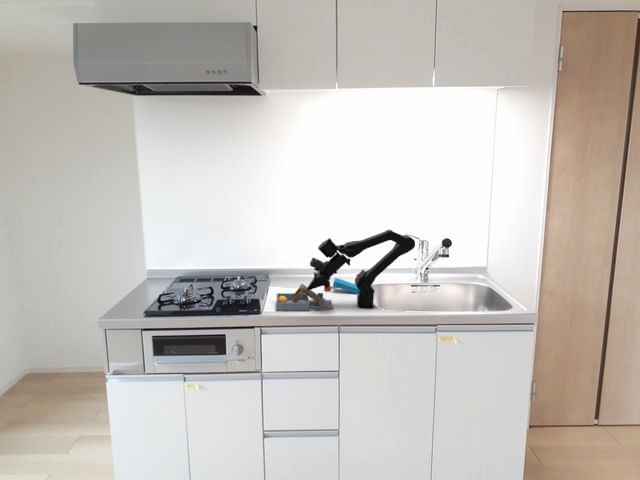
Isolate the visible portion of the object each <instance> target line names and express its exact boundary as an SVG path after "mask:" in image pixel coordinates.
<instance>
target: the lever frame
mask: <svg viewBox="0 0 640 480" xmlns="http://www.w3.org/2000/svg"><path fill="white" fill-rule="evenodd" d="M317 295H319V296H320V297H321V298H319V303H317V302H316V301H315V300H313V299H309V311H310V310H311V311H312V310H313V311H314V310H315V311H316V310H319V311H320V310H322V311H325V310H327V311H328V310H329V311H330V310H332V311H333V310H334V305H333V303H332V300H331V299H325V298H324V293H323V292H317Z"/></svg>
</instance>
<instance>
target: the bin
mask: <svg viewBox="0 0 640 480" xmlns="http://www.w3.org/2000/svg"><path fill="white" fill-rule="evenodd" d="M294 294H295V292H294V293H291V292H290V293H289V292H288V293H285V292H284V293H281V292H280V293H279V292H278V293H276V299H275V300H276V304H275V305H276V307H275V308H276V309H275V310H276V312H310V306H309V300H310V297H309V296H308V295H306V294H305V293H304V294H303V295H302V297H301V298H300V299H299V300H298V302H297V303H294V302H292V301H293V298H292V296H293V295H294ZM280 296H285V297H286V298H287V303H278V298H279V297H280Z"/></svg>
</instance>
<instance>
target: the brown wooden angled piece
mask: <svg viewBox="0 0 640 480" xmlns="http://www.w3.org/2000/svg"><path fill="white" fill-rule="evenodd" d="M307 287H308V286H306V285H305V284H304V283H300V285H299V287H298V288H297V290H296V291H295V292H294V293H295V294H294V295H293V296H292V298H293V301H292V302H294V303H297V302H298V300H299V299H300V298H301V297H302V295H303V294H304V293H305V294H306V295H308V298H309V299H311V300H315V301H316V302H317V303H319V298H321V297H320V296H319V295H318V293H316V292H315V291H313V289H311V290H308V289H307Z"/></svg>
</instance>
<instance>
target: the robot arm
mask: <svg viewBox="0 0 640 480" xmlns="http://www.w3.org/2000/svg"><path fill="white" fill-rule="evenodd" d="M388 241H392V242H394V245H393V248H391V249H390V250H389V251H388V252H387V253H386V254H385V255H384V256H383V257H381V258H380V260H378V262H376V263H375V264H374V265H373V266H372V267H370V268H369V269H368V270H364V269H362V270H361V271H359V273H358V274H356V277H355V278H354V284H356V286H357V288H358V289H359V290H360V291H359V295H358V294H356V295H357V296H356V305H357V306H358V308H360V309H374V308H375V306H374V295H375V290H374V288H373V286H372V285H373V284H374V282H375V280H376V278H377V277H378V276H379V275H380V274H382V272H384V271H385V270H386V269H387V268H389V267H390V266H391V264H392V263H394V262H395V261H396V260H398V258H399V257H400V256H403V255H405V254H407V253H410V251H413V250H414V248H415V247H416V241H415V239H413V238H412V237H411V236H410V235H407V234H406V235H404V234H403V235H402V234H400V233H398V232H395V231H393V230H392V229H386V230H385V231H383V232H380V233H377V234H374V235H371V236H369V237H367V238H364V239H362V240H361V239H360V240H353V241H347V242H344V244H340V245H339V244H338V245H337V244H335V243H334V241H333V240H332V239H331V238H330V237H329V238H327V239H326V240H324V241H322V242H321V243H320V244H319V245H318V247H317V249H318V251H319V252H321V254H323V255H324V257H326V258H330V259H329V260H325V261H324V262H323V261H322V260H320V259H318V258H315V257H312V258H311V259H310V262H309V266H310V267H311V268H313V270H314V271H313V277H312V280H311V281H310V283H309V285H308V286H306V287H307V289H308V290H313V289H317V288H319V287H322V286H323V287H324V286H325V287H326V288H328V287H329V286H331V281H330V280H331V277H332V276H333V275H334V274H335V275H336V274H338V270H340V269H341V268H342V267H343V266H344V265H345V264H347V266H351V259H352V258H354V257H356V256H359V254H361V253H362V252H364V251H365V250H367V249H370V248H372V247H376V246H378V245H380V244H384V243H387V242H388ZM315 271H316V272H315Z"/></svg>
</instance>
